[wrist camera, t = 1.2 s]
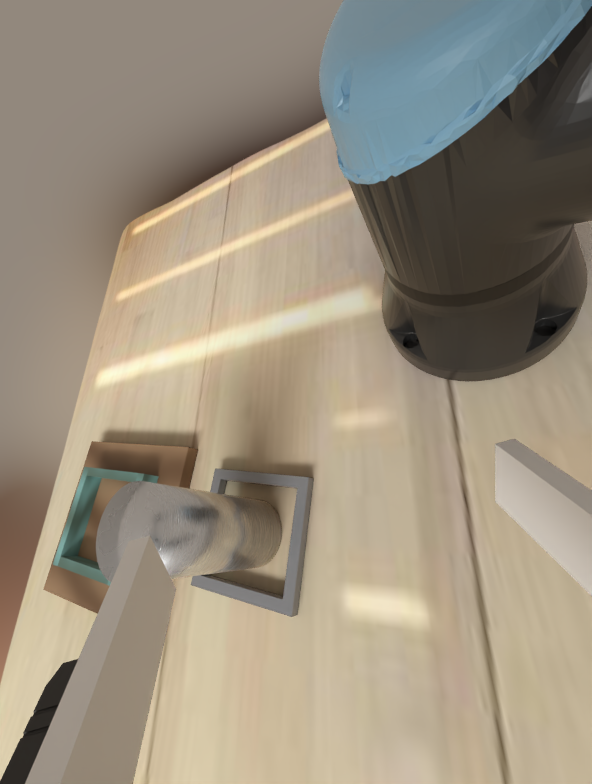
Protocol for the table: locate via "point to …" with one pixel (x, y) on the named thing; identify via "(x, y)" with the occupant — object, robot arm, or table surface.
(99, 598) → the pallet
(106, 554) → the billet
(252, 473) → the frame
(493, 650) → the table surface
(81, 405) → the table surface
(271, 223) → the table surface
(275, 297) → the table surface
